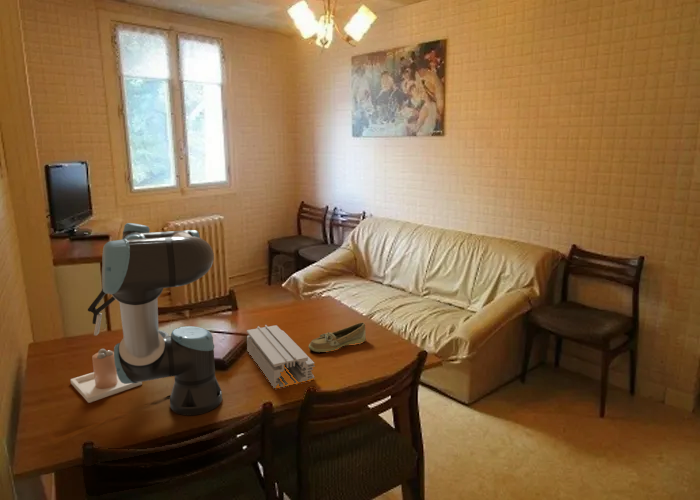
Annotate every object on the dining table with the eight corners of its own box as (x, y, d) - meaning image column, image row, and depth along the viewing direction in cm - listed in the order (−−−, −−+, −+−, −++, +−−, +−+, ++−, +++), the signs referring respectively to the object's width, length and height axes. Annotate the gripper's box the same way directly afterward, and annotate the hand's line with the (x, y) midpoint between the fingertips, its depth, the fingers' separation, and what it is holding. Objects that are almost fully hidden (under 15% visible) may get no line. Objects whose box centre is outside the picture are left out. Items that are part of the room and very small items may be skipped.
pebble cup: (120, 384, 155) (117, 349, 152) (99, 391, 150) (95, 355, 147) (113, 377, 159) (109, 343, 156) (92, 383, 154) (88, 348, 152)
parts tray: (142, 387, 155) (141, 380, 154) (88, 405, 144) (88, 398, 143) (122, 370, 166) (122, 363, 165) (71, 386, 154) (70, 379, 154)
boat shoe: (304, 349, 185) (304, 330, 184) (353, 334, 200) (353, 317, 199) (318, 358, 178) (318, 339, 176) (368, 342, 193) (369, 324, 191)
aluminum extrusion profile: (283, 346, 188) (282, 322, 186) (314, 381, 162) (314, 353, 159) (247, 352, 182) (246, 328, 179) (274, 390, 155) (273, 362, 153)
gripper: (172, 276, 159) (162, 339, 160) (91, 264, 154) (81, 328, 155) (168, 280, 152) (157, 345, 153) (83, 267, 147) (72, 334, 148)
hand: (119, 337), depth 154 cm, fingers open, 13 cm apart
